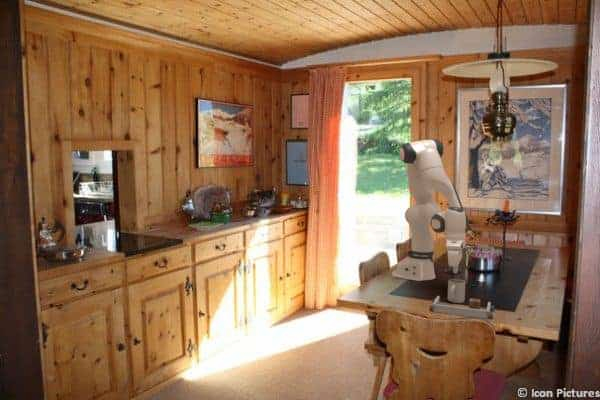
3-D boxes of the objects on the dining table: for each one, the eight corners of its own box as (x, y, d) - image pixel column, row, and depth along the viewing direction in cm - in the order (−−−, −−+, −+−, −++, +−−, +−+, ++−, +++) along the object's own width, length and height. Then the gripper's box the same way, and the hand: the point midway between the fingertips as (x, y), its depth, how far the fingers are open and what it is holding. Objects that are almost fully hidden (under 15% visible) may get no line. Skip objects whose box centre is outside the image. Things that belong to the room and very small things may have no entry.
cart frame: (429, 311, 209) (429, 304, 208) (433, 302, 221) (434, 295, 220) (492, 319, 199) (492, 312, 199) (493, 309, 211) (494, 302, 210)
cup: (466, 300, 224) (467, 280, 223) (459, 305, 216) (460, 285, 215) (450, 297, 228) (451, 278, 227) (443, 302, 220) (443, 283, 219)
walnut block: (468, 312, 207) (469, 300, 207) (469, 309, 211) (470, 298, 210) (479, 313, 206) (479, 302, 205) (479, 311, 209) (480, 299, 209)
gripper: (451, 238, 238) (451, 267, 240) (445, 246, 220) (445, 277, 221) (465, 239, 236) (465, 268, 237) (460, 246, 217) (460, 278, 218)
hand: (455, 272), depth 229 cm, fingers closed
